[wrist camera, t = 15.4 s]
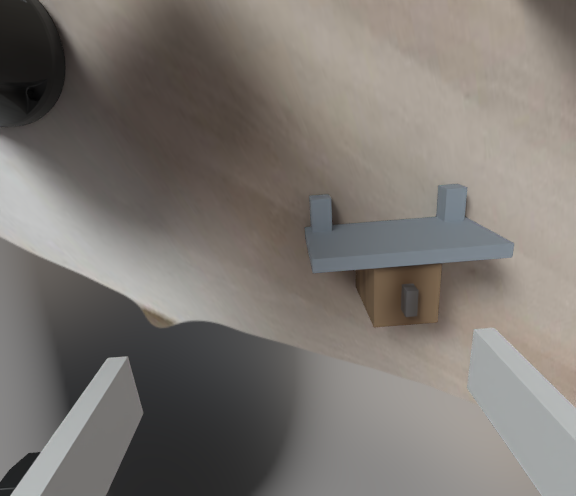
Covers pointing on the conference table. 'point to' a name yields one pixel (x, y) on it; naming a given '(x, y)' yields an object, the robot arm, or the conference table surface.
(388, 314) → the cabinet block
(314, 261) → the wall board
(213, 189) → the conference table surface
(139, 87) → the conference table surface
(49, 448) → the robot arm
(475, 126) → the conference table surface
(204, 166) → the conference table surface
